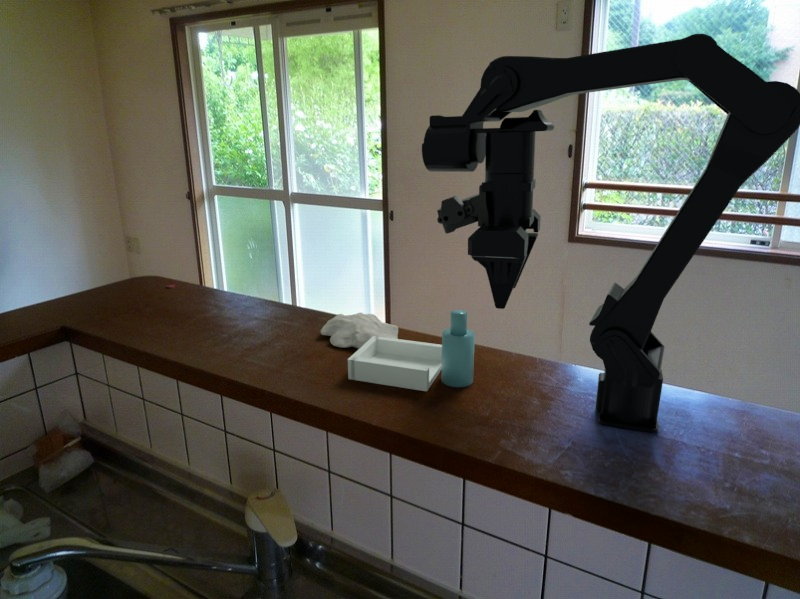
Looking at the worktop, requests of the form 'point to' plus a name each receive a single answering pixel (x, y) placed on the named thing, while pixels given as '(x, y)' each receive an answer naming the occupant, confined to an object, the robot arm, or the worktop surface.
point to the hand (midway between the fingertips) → (506, 297)
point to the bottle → (458, 352)
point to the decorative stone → (356, 330)
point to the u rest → (396, 363)
